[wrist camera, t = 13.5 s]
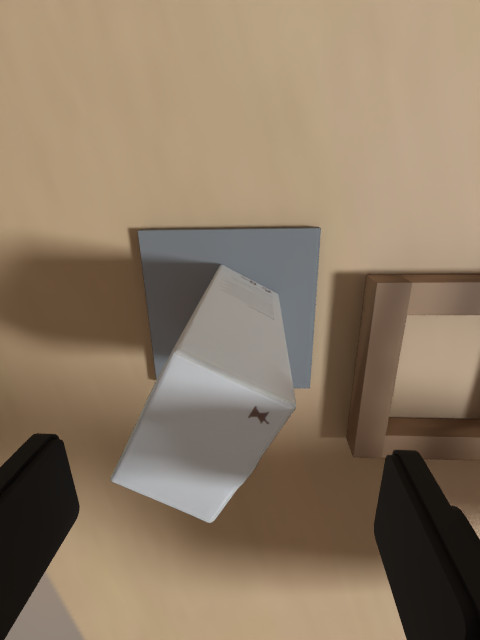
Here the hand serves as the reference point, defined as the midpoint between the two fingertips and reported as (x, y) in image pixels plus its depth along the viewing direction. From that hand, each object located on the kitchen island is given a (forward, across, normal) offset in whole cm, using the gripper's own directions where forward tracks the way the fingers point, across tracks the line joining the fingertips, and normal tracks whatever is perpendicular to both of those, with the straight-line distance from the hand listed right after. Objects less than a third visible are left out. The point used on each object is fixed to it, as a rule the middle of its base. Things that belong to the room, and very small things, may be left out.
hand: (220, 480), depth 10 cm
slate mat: (+14, +1, 0) cm, 14 cm away
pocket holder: (+14, -14, +4) cm, 20 cm away
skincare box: (+13, +1, 0) cm, 13 cm away
